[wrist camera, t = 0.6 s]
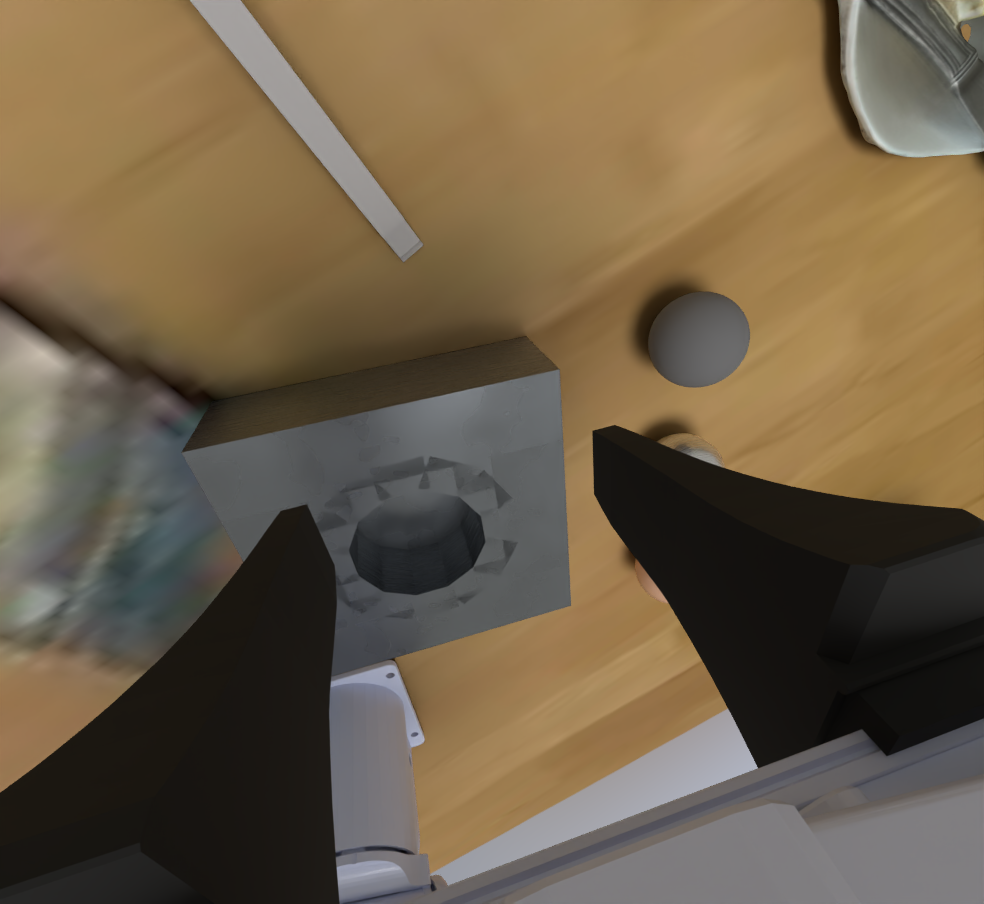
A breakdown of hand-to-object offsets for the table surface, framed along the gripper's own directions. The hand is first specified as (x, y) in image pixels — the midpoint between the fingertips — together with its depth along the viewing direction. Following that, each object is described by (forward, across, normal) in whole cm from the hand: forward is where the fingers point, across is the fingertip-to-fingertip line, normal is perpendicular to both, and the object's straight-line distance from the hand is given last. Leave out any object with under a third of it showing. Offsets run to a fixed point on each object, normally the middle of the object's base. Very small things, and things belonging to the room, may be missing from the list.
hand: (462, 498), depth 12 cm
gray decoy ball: (+8, -12, +1) cm, 14 cm away
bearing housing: (+10, +2, +6) cm, 12 cm away
